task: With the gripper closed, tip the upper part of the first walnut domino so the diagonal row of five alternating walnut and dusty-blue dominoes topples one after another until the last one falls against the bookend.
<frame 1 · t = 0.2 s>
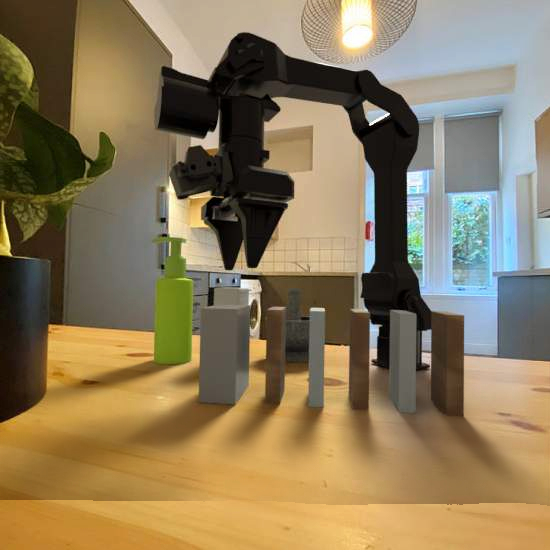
hand: (239, 269, 43), 14 cm above the table, fingers open, 9 cm apart
domino 3: (358, 401, 38), on the table
soap dispenser: (169, 361, 56), on the table
domino 5: (275, 396, 39), on the table
skincare box: (230, 362, 57), on the table
domino 1: (446, 406, 37), on the table
domino 2: (401, 404, 38), on the table
bookend: (225, 393, 40), on the table
domino 4: (316, 398, 39), on the table
mortar and pestle: (292, 358, 61), on the table
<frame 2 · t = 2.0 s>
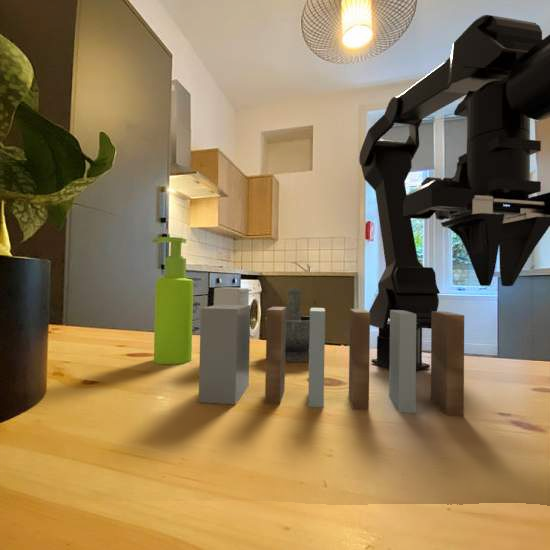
hand: (496, 285, 37), 13 cm above the table, fingers closed
nothing on the table moved.
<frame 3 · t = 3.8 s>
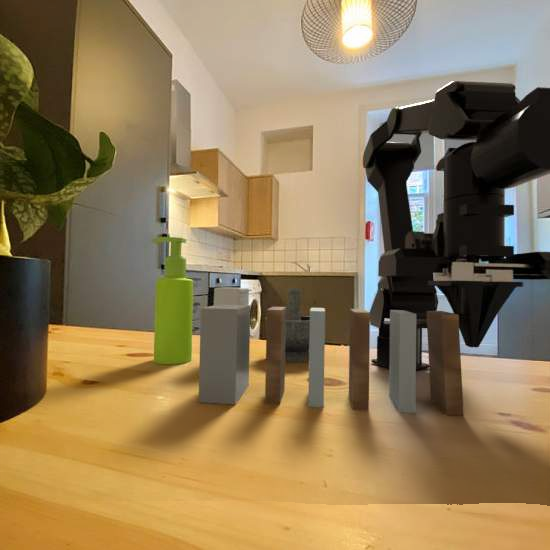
hand: (472, 346, 37), 6 cm above the table, fingers closed
domino 1: (446, 406, 37), on the table, touching gripper
everything else where it was.
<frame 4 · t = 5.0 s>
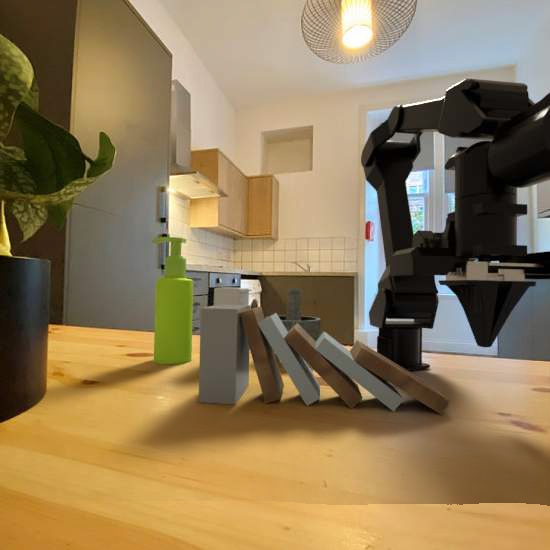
hand: (483, 346, 37), 7 cm above the table, fingers closed
domino 3: (354, 395, 38), point 1 cm above the table, tilted 46°, touching domino 2, domino 4
domino 5: (275, 394, 39), on the table, tilted 18°, touching bookend, domino 4
domino 1: (437, 399, 37), point 1 cm above the table, tilted 60°, touching domino 2
domino 2: (393, 397, 38), point 1 cm above the table, tilted 54°, touching domino 1, domino 3
domino 4: (313, 394, 39), on the table, tilted 33°, touching domino 3, domino 5
everything else where it was.
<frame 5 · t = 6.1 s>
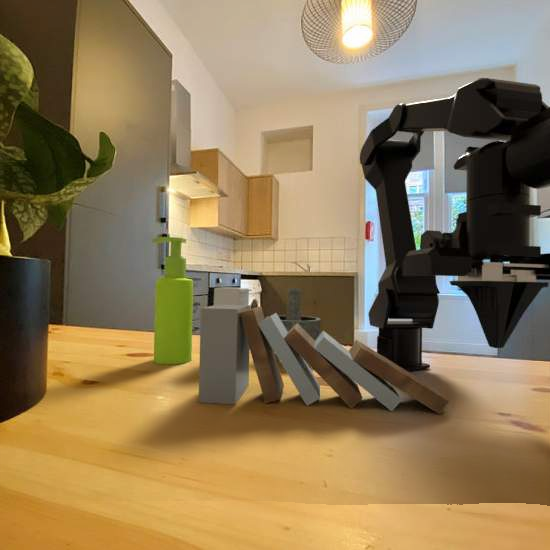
hand: (495, 347, 37), 6 cm above the table, fingers closed
nothing on the table moved.
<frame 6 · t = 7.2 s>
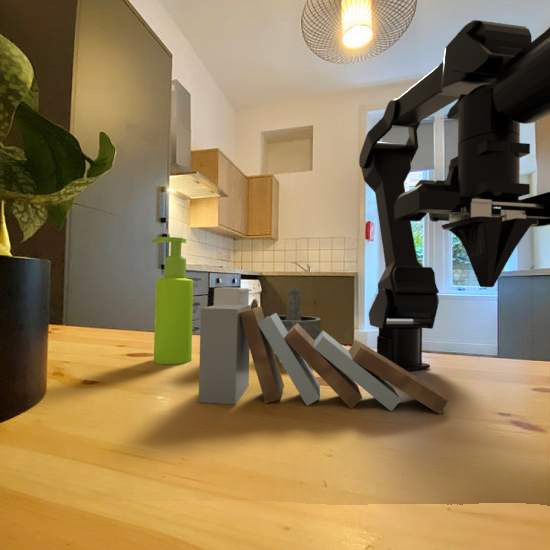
hand: (486, 287, 37), 13 cm above the table, fingers closed
nothing on the table moved.
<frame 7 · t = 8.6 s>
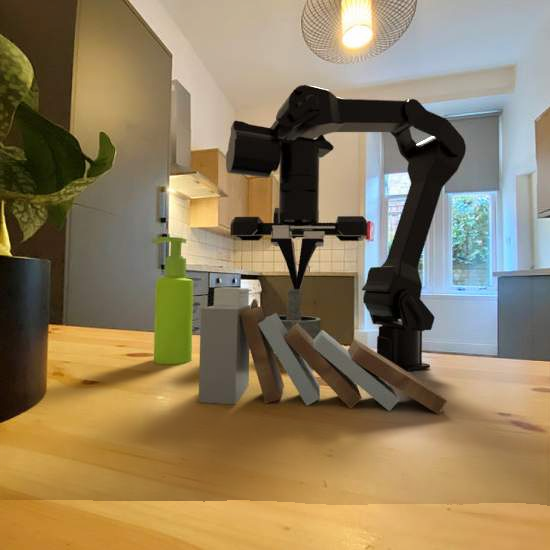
hand: (297, 289, 50), 12 cm above the table, fingers closed
nothing on the table moved.
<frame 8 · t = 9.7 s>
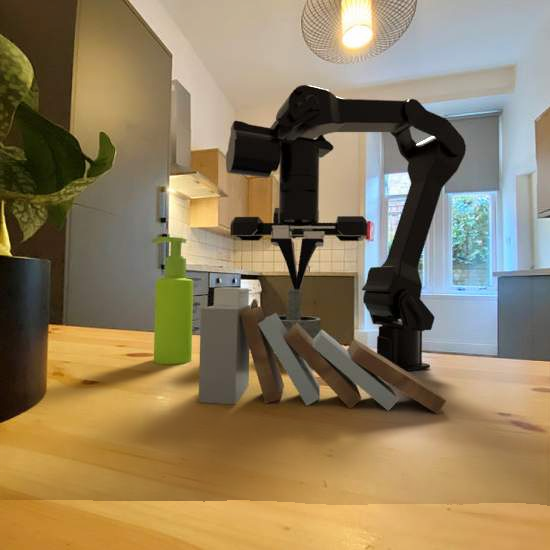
hand: (297, 289, 50), 12 cm above the table, fingers closed
nothing on the table moved.
at the end: domino 5 tilted 18°; domino 3 tilted 45°; domino 1 tilted 59° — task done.
